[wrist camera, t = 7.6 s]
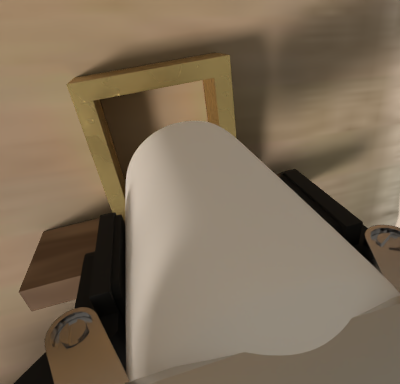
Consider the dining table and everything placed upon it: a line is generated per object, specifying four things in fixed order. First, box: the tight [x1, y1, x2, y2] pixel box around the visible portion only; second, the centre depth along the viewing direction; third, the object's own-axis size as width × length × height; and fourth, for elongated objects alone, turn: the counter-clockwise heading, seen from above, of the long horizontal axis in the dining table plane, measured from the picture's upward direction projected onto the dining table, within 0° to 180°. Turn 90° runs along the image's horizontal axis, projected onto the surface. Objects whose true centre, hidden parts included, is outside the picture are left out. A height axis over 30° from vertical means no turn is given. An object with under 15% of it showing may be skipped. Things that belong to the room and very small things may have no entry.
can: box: [125, 121, 400, 381], centre depth 10 cm, size 6×6×12 cm
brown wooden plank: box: [19, 174, 280, 311], centre depth 24 cm, size 2×24×7 cm, turn 98°
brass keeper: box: [67, 53, 236, 220], centre depth 22 cm, size 10×10×4 cm
